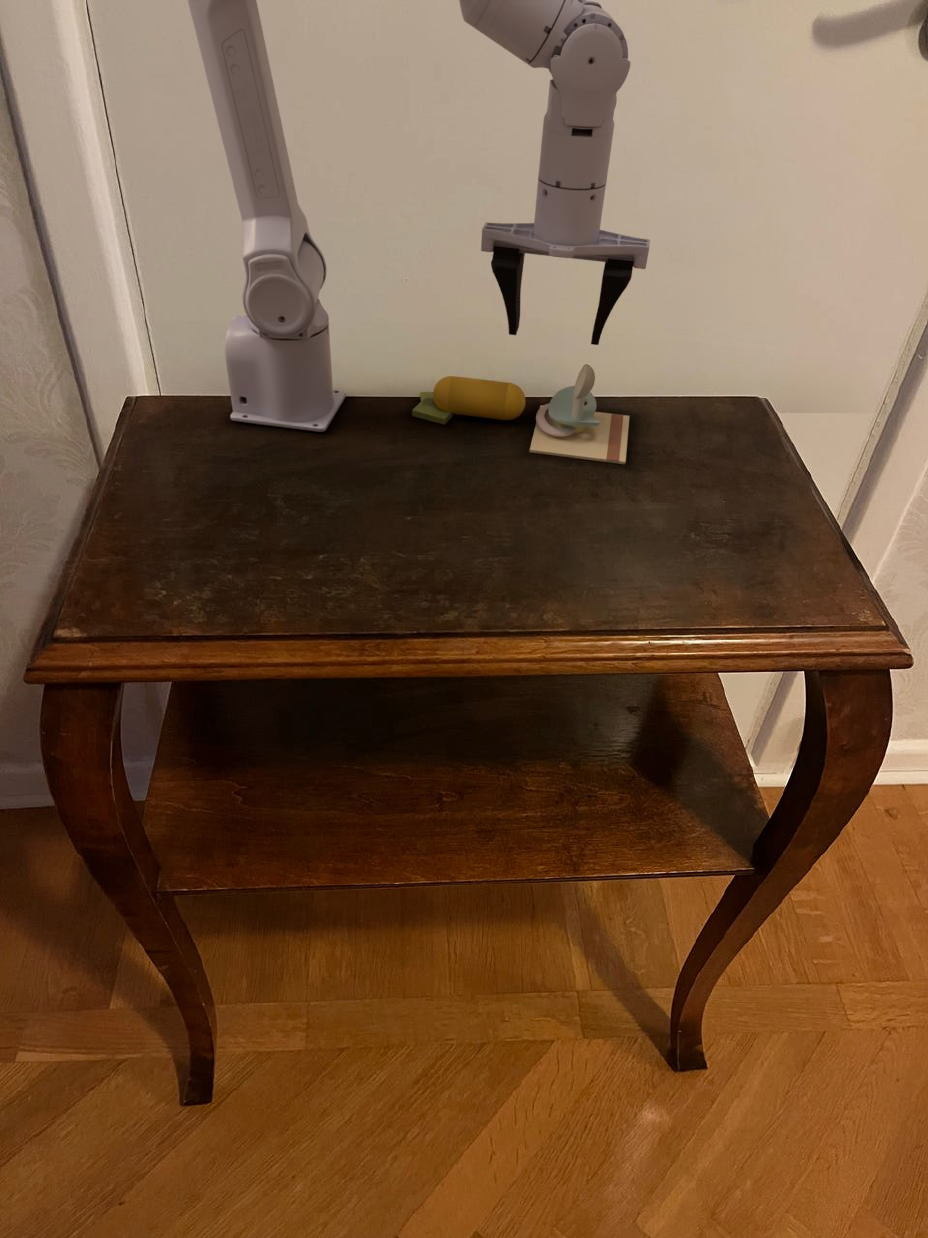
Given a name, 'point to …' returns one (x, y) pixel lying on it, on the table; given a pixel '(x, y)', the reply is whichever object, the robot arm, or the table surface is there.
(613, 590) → the table surface
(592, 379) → the pacifier
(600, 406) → the table surface
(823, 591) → the table surface
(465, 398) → the corn
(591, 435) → the towel
